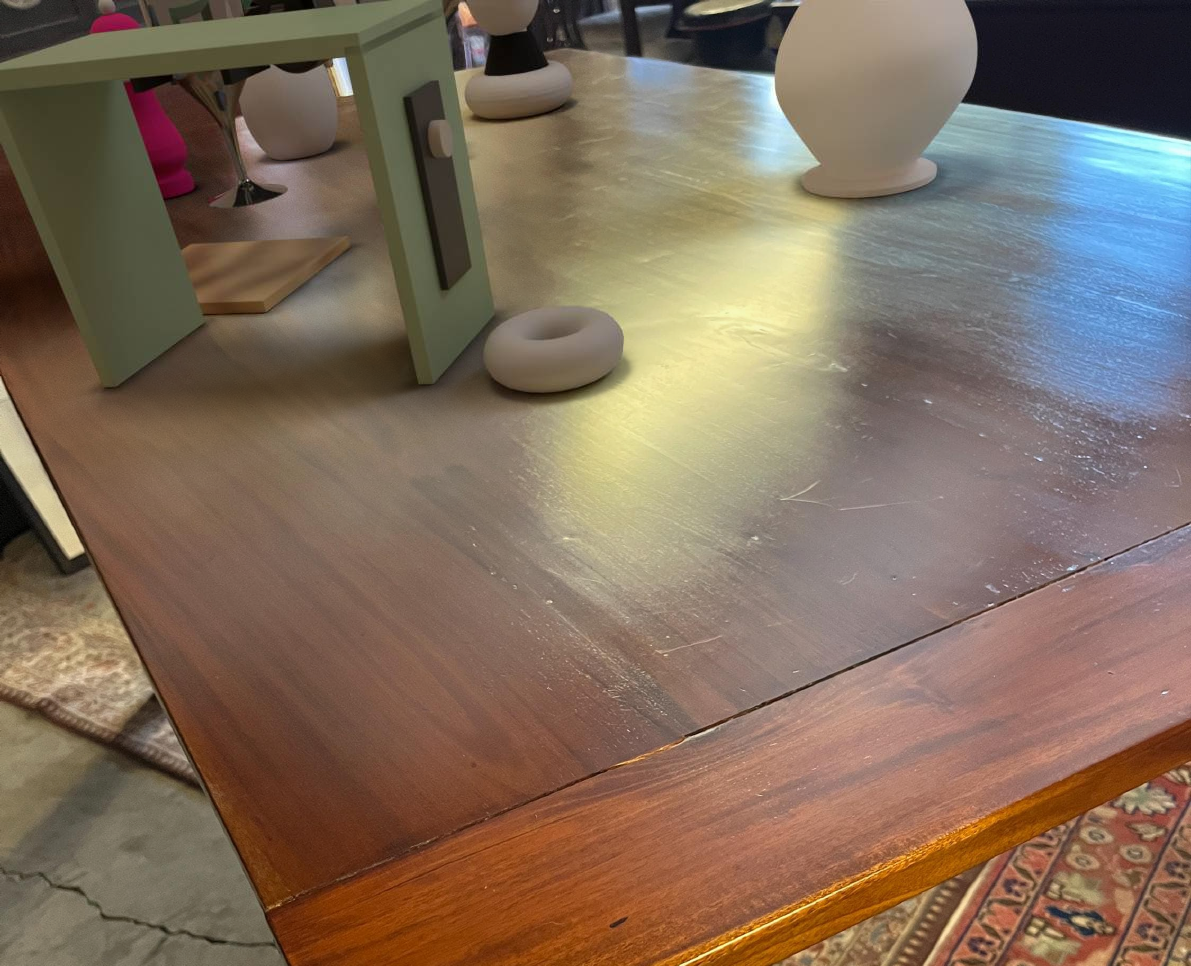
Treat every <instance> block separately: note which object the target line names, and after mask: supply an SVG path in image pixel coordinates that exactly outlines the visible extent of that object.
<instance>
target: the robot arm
mask: <svg viewBox="0 0 1191 966" xmlns="http://www.w3.org/2000/svg"><path fill="white" fill-rule="evenodd" d="M381 1H389V0H250V3H249V6H248V7H245V8H244V11H245V15H246V17H247V16H255V15H264V14H273V13H282V12H291V11H300V10H309V9H318V8H327V7H336V6H345V5H354V4H363V3H372V2H381ZM323 64H324V66H325V67H326V69H330V68H333V67H334V59H325V60H314V61H304V62H294V63H284V64H274V65H275V66H276V67H277V68H279V69H281V70H283V71H285V72H288V73H293V74H301V73H305V72H308V71H310V70H312V69H314V68H317V67H319V66H321V65H323ZM269 68H271V67H270V65H263V66H253V67H243V68H233V69H222V70H220V71H221V75H222V78H223V82H224V85H232V84H235V83H237V82H240V81H242V80H244V79H246V78H249V77H251V76H253V75H255V74H258V73H260V72H262V71H265V70H267V69H269ZM130 81H131V84H132V87H133V90H134V93H143V92H145V91H148V90H150V89H153V90H154V89H155V88H157V87H160V86H162V85H165V84H168V83H170V86H179V85H178V84H177V83H176V82H175V81H174V80H173V79H172V77H171V76H170V75H161V76H151V77H141V78H131V79H130Z"/></svg>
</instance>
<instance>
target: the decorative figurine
mask: <svg viewBox="0 0 1191 966" xmlns="http://www.w3.org/2000/svg"><path fill="white" fill-rule="evenodd" d="M466 6H467V8H468V11H469V13H470V15H471V17H472V18H473V20H474V22H475V23H476V24H477V26H479V27H480V28H481V29H482V30H483V31H484V32H486V33H488V34H489V35H491V36H490V41H489V45H488V52H487V57H486V62H485V66H484V69H482V70H479V71H477V72H476V73H474V74H473V75H472V76H470V78H469V79H468V80H467V82H466V84H465V87H464V101H465V103H466V105H467V107H468V109H469V110H470V111H471V113H473V114H475V116H478V117H479V118H484V119H488V120H510V119H511V120H512V119H518V118H519V119H520V118H527V117H532V116H536V115H541V114H544V113H548V112H551V111H553V110H556V109H557V108H559V107H562V106H563V105H564V104H566V102H567V101H568V100H569V99H570V97H571V95H572V93H573V88H574V80H573V76H572V73H571V71H570V70H569V69H568V67H567V66H565V65H564V64H562V63H560V62H559V61H556V60H549V59H547V57H546V55H545V54H544V51H543V50H542V48H541V45H540V43H539V41H538V40H537V37H536V36H535V34H534V32H533V29H532V28H531V26H530V24H531V23H532V21H533V19H534V18H535V15H536V13H537V10H538V6H539V0H466Z"/></svg>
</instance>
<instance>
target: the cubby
mask: <svg viewBox="0 0 1191 966" xmlns="http://www.w3.org/2000/svg"><path fill="white" fill-rule="evenodd" d="M443 5H444V4H443V0H389V1H381V2H372V3H363V4H354V5H345V6H336V7H327V8H318V9H309V10H300V11H291V12H282V13H273V14H264V15H255V16H247V17H238V18H229V19H220V20H211V21H202V22H193V23H184V24H175V25H166V26H157V27H148V28H147V27H140V28H139V29H130V30H121V31H113V32H104V33H95V34H90V33H89V34H88V35H85V36H84V35H83V36H82V37H77V38H75V39H72V40H68V41H66V42H63V43H59V44H55V45H53V46H50V47H47V48H44V49H41V50H37V51H35V52H31V53H28V54H24V55H22V56H19V57H15V58H12V59H9V60H5V61H1V62H0V145H1V147H2V150H3V151H4V154H5V157H6V158H7V161H8V163H9V164H8V165H9V166H10V168H11V170H12V173H13V175H14V178H15V180H16V183H17V185H18V187H19V190H20V192H21V195H22V197H23V199H24V202H25V204H26V206H27V209H28V211H29V214H30V216H31V219H32V221H33V223H34V225H35V228H36V230H37V233H38V235H39V237H40V240H41V242H42V244H43V247H44V250H45V252H46V254H47V256H48V259H49V261H50V263H51V266H52V268H53V271H54V273H55V276H56V278H57V280H58V282H59V285H60V288H61V289H62V292H63V295H64V297H65V299H66V302H67V304H68V306H69V309H70V312H71V314H72V316H73V319H74V321H75V324H76V325H77V328H78V331H79V332H80V335H81V337H82V339H83V343H84V345H85V347H86V349H87V352H88V355H89V357H90V359H91V361H92V364H93V366H94V368H95V372H96V373H97V376H98V379H99V380H100V383H101V385H102V387H103V388H118V386H119V385H121V384H122V383H124V382H125V381H126V380H128V379H129V378H131V377H132V376H133V375H135V374H136V373H138V372H139V371H141V369H143V368H144V367H146V366H147V365H149V364H150V363H151V362H152V361H154V360H155V359H157V358H159V356H161V355H162V354H163V353H165V352H166V351H168V350H169V349H170V348H172V347H173V346H175V345H176V344H177V343H179V342H180V341H182V340H183V339H184V338H186V337H187V336H189V335H190V334H191V333H192V332H194V331H195V330H197V329H198V328H199V327H201V326H202V325H203V324H205V323H206V320H205V317H204V314H202V311H201V308H200V305H199V302H198V299H197V297H196V294H195V291H194V288H193V285H192V282H191V279H190V276H189V273H188V270H187V267H186V264H185V262H184V259H183V256H182V253H181V250H182V249H181V247H180V245H179V242H178V239H177V236H176V232H175V229H174V226H173V224H172V221H171V218H170V215H169V212H168V209H167V207H166V204H165V199H163V197H162V194H161V192H160V189H159V186H158V183H157V180H156V177H155V174H154V171H153V168H152V165H151V162H150V160H149V157H148V154H147V151H146V148H145V145H144V142H143V139H142V136H141V133H140V130H139V127H138V125H137V122H136V119H135V116H134V113H133V110H132V107H131V104H130V101H129V98H128V95H127V92H126V90H125V87H124V84H123V81H122V79H131V78H141V77H151V76H161V75H171V74H182V73H192V72H202V71H212V70H222V69H233V68H243V67H253V66H263V65H274V64H284V63H294V62H304V61H314V60H325V59H333V60H335V59H345V63H346V67H347V72H348V76H349V81H350V85H351V89H352V94H353V98H354V103H355V108H356V111H357V116H358V122H359V125H360V130H361V134H362V138H363V144H364V147H365V152H366V156H367V161H368V166H369V169H370V174H371V175H370V176H371V178H372V183H373V187H374V192H375V197H376V201H377V207H378V210H379V214H380V219H381V224H382V227H383V233H384V237H385V241H386V246H387V250H388V255H389V258H390V263H391V268H392V272H393V277H394V281H395V286H396V291H397V294H398V299H399V304H400V308H401V312H402V313H401V314H402V317H403V321H404V326H405V330H406V334H407V335H406V336H407V339H408V344H409V348H410V352H411V357H412V361H413V366H414V370H415V374H416V379H417V384H418V385H434V384H435V383H436V382H437V381H438V380H439V378H441V376H442V375H443V374H444V373H445V372H446V370H448V369H449V367H450V366H452V364H453V363H454V361H455V360H456V359H457V358H458V357H459V356H460V355H461V354H462V352H463V351H464V350H465V349H466V348H467V347H468V345H470V343H472V341H474V339H475V338H476V337H477V336H478V334H479V333H480V332H481V331H482V330H483V329H484V327H486V326H487V324H488V323H489V322H490V321H491V320H492V319H493V317H494V316H495V315H496V310H495V304H494V299H493V292H492V287H491V282H490V281H491V280H490V275H489V270H488V264H487V258H486V253H485V252H486V251H485V245H484V240H483V233H482V227H481V223H480V222H481V221H480V217H479V211H478V204H477V199H476V193H475V187H474V182H473V181H474V180H473V176H472V169H471V163H470V158H469V152H468V147H467V141H466V135H465V127H464V123H463V122H464V121H463V117H462V111H461V104H460V99H459V94H458V88H457V82H456V76H455V75H456V74H455V69H454V63H453V58H452V57H453V56H452V52H451V46H450V41H449V34H448V27H447V22H446V17H445V11H444V6H443Z"/></svg>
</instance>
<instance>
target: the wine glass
mask: <svg viewBox="0 0 1191 966" xmlns="http://www.w3.org/2000/svg"><path fill="white" fill-rule="evenodd" d="M138 3H139V7H140V10H141V12H142V17H143V20H144V22H145V25H146V28H148V27H157V26H166V25H175V24H184V23H193V22H202V21H211V20H220V19H229V18H238V17H246V15H245V11H244V2H243V0H138ZM170 76H171V77H172V79H173V80H174V81H175V82H176V83H177V84H178V85H177V86H179V87H180V88H181V89H182V90H183V91H184V92H186V93H187V94H188V95H189V96H190V97H192V98H193V99H194V100H195V101H196V102H197V103H199V105H201V106H202V107H203V108H204V109H205V110H206V111H207V112H208V113H209V114H210V115H211V117H212V118H213V119H214V121H215V122H216V123H217V125H218V126H219V128H220V130H221V133H222V135H223V137H224V140H225V142H226V144H227V148H228V149H229V152H230V155H231V158H232V162H233V164H234V167H235V171H236V176H237V182H236V184H235V185H234V186H233V187H232V188H230V189H229V190H227V191H224V192H222V193H220V194H217V195H215V196H214V197H212V198H211V199H210V200H209V201H208V206H209V207H212V208H215V209H232V208H233V209H234V208H241V207H248V206H254V205H256V204H261V203H265V202H269V201H271V200H274V199H276V198H279V197H282V196H283V195H285V194H286V193H287V192H288V191H289V188H288V186H286V185H284V184H279V183H259V182H257V181H254V180H252V179H250V178H249V176H248V173H247V171H246V167H245V164H244V160H243V157H242V153H241V149H240V144H239V138H238V133H237V125H236V117H237V109H238V104H239V98H240V95H241V93H242V90H243V87H244V85H245V82H246V80H247V78H246V79H244V80H242V81H240V82H237V83H235V84H232V85H224V82H223V78H222V75H221V71H220V70H212V71H202V72H192V73H182V74H171V75H170Z"/></svg>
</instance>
